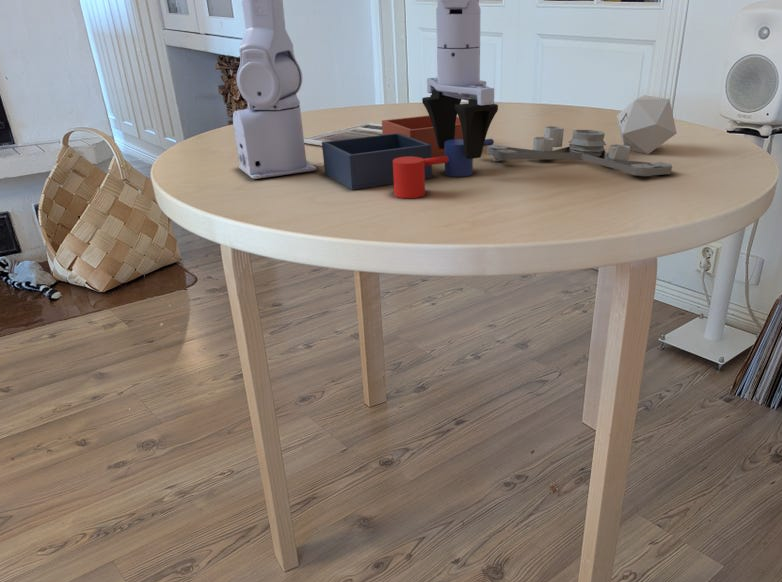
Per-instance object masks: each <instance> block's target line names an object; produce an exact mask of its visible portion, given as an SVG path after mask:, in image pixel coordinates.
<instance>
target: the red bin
mask: <svg viewBox="0 0 782 582" xmlns="http://www.w3.org/2000/svg"><path fill="white" fill-rule="evenodd" d="M381 125H382V132H383V135H386V134H394V133H395V134H396V133H400V134H403V135H405V136H408V137H411V138H414V139H416V140H419V141H422V142H425V143H427V144H430V145H431V147H432V158H433V157H440V156H445V149H439V147H438V144H437V140H436V136H435V132H434V128H433V124H432V121H431V119H430V116H429V114H428V115H421V116H419V115H418V116H411V117H402V118H400V117H399V118H392V119H384V120H383V119H382V120H381ZM454 139H463V133H462V127H461V123H460V120H459V117H458V116H457V117H456V124H455V138H454Z"/></svg>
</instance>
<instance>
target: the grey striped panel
mask: <svg viewBox="0 0 782 582" xmlns="http://www.w3.org/2000/svg"><path fill="white" fill-rule="evenodd" d="M378 135H383V132H382V123H373V122H366V123H363V124H362V123H361V124H359V125H354V126H350V127H345V128H341V129H337V130H332V131H329V132H328V131H327V132H324V133H319V134H315V135H310V136H307V137H304V144H307V145H315V146H321V147H322V142H327V141H336V140H344V139H352V138H361V137H369V136H378Z"/></svg>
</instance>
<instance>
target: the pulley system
mask: <svg viewBox="0 0 782 582" xmlns="http://www.w3.org/2000/svg"><path fill="white" fill-rule="evenodd" d="M564 129H565V128H564V127H562V126H554V125H553V126H552V125H547V126H545V127H544V135H543V136H536V137H533V145H532V149H528V148H518V147H510V146H506V145H503V144H502V145H501V144H493V145H489V146H487V153H486V155H490V156H492V157H493V159H492V161H494V162H501V161H523V160H525V161H526V160H527V161H528V160H531V161H532V160H533V161H534V160H535V161H536V160H582V161H586V162H590V163H594V164H597V165H601V166H603V167H607V168H610V169H614V170H618V171H621V172H625V173H628V174H631V175H632V176H638V177H649V176H660V175H671V174H672V170H673V164H672V163H667V162H662V161H659V162H658V161H657V162H649V161H638V160H629V155H630V152H631V150H630V147H629V146H626V145H623V144H610V145H609V148H608V149H609V150H608V154H607V152H606V149H605V147H606V146H607V144H606V142H605V140H604V138H605V135H606V133H605V132H603V131H601V130H592V129H573V130H572V138H571V139H570V140H569V141H568V143H569V144H568V145H569V146H566V147H563V141H564V131H565V130H564ZM561 147H562V148H561ZM553 148H557V149H553ZM602 157H603V158H602Z"/></svg>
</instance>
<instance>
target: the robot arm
mask: <svg viewBox="0 0 782 582" xmlns="http://www.w3.org/2000/svg"><path fill="white" fill-rule="evenodd" d="M241 1H242V2H241V3H242V12H243V19H244V20H243V21H244V27H245V31H244V34H243V37H242V40H241V42H240V45H239V49H238V50H239V59H240V60H239V67H238V68H237V72H236V78H235V79H236V86H237V89H238V91H239V94H240V95H241V97H242V98H243V99H244V101H246V102H247V108H244V109H238V110H235V111H233V114H232V126H233V132H234V133H233V134H234V139H235V144H236V152H237V156H238V157H237V159H238V162H239V163H238V164H239V165H238V169H240V170H241V171H242V172H244V173H245V174H246V175H248V176H249V178H251V179H253V180H256V179H265V178H272V177H279V176H285V175H286V176H287V175H293V174H300V173H301V174H302V173H309V172H316V171H317V167H316V166H314V165H313V164H312V163H310V162H308V161H307V155H306V147H305V143H304V138H305V137H304V128H303V119H302V112H301V103H300V99H299V98H298V96H297V94H298V93H299V92H300V90H301V87H302V84H303V73H302V69H301V66H300V64H299V63H298V61H297V59H296V56H295V51H294V43H293V42H292V40H291V37H290V36H289V34H288V32H287V29H286V21H285V10H284V9H285V8H284V0H241ZM436 3H437V4H436V5H437V6H436V8H435V14H436V15H435V16H436V17H435V19H436V21H435V22H436V68H437V71H436V72H437V75H436V76H437V77H428V78H426V91H427V92H426V93H428V94H430V95H429V96H425V97H422V98H421V100H422V104H423V106H424V107H425V109H426V112H427V113H428V115H429V116H430V119H431V121H432V124H433V128H434V132H435V136H436V140H437V144H438V147H439V149H445V141H447V140H452V139H454V138H455V124H456V117H459V120H460V123H461V127H462V133H463V144H464V153H465V157H466V158H467V159H473V160H474V159H479V158H482V153H483V149H484V147H485V146H484V142H485V139H487V135H488V131H489V128H490V126H491V123H492V121H493V119H494V118H495V116H496V114H497V113H498V111H499V104H496V103H495V87H490V86H488V85H487V81H486V80H481V13H482V12H481V7H480V0H437V2H436ZM463 100H464V101H467V102H468V103H461V102H462V101H463Z"/></svg>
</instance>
